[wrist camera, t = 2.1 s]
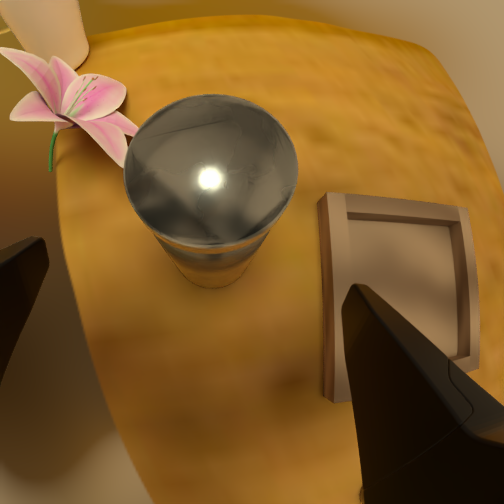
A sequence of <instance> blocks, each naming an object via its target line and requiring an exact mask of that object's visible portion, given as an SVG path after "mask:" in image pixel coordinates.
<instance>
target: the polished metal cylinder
mask: <svg viewBox="0 0 504 504" xmlns="http://www.w3.org/2000/svg"><path fill="white" fill-rule="evenodd" d="M123 175H124V185H125V190H126V193H127V196H128V198H129V201H130V203H131V205H132V207H133V208H134V210H135V212H136V213H137V214H138V216H139V217H140V219H141V220H142V221H143V223H144V224H145V225H146V226H147V228H148V229H149V230H150V231H151V232H152V233H153V234H154V236H155V237H156V238H157V240H158V241H159V243H160V244H161V245H162V247H163V248H164V250H165V251H166V252H167V254H168V255H169V256H170V258H171V259H172V261H173V262H174V263H175V265H176V266H177V267H178V269H179V270H180V271H181V273H182V274H183V275H184V276H185V277H186V278H187V279H188V280H189V281H191V282H192V283H194V284H196V285H198V286H201V287H205V288H220V287H224V286H227V285H229V284H231V283H233V282H234V281H236V280H237V279H238V278H239V277H240V276H241V275H242V274H243V273H244V271H245V270H246V268H247V266H248V265H249V263H250V262H251V260H252V258H253V257H254V255H255V254H256V252H257V250H258V249H259V247H260V246H261V244H262V242H263V241H264V239H265V238H266V236H267V234H268V233H269V231H270V229H271V228H272V227H273V226H274V225H275V224H276V222H277V221H278V220H279V218H280V217H281V215H282V214H283V212H284V210H285V209H286V207H287V206H288V204H289V202H290V200H291V198H292V196H293V194H294V191H295V187H296V184H297V177H298V161H297V155H296V151H295V148H294V145H293V143H292V141H291V138H290V136H289V135H288V133H287V132H286V130H285V129H284V127H283V126H282V125H281V124H280V123H279V121H278V120H277V119H276V118H274V117H273V116H272V115H271V114H270V113H269V112H267V111H266V110H264V109H263V108H261V107H260V106H258V105H256V104H254V103H252V102H249V101H247V100H245V99H241V98H238V97H234V96H229V95H221V94H203V95H196V96H191V97H187V98H183V99H180V100H178V101H175V102H173V103H171V104H169V105H167V106H165V107H163V108H162V109H160V110H158V111H157V112H156V113H154V114H153V115H152V116H151V117H149V118H148V119H147V120H146V121H145V122H144V123H143V124H142V125H141V127H140V128H139V129H138V131H137V132H136V133H135V135H134V137H133V139H132V140H131V142H130V145H129V147H128V150H127V152H126V156H125V161H124V169H123Z"/></svg>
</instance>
